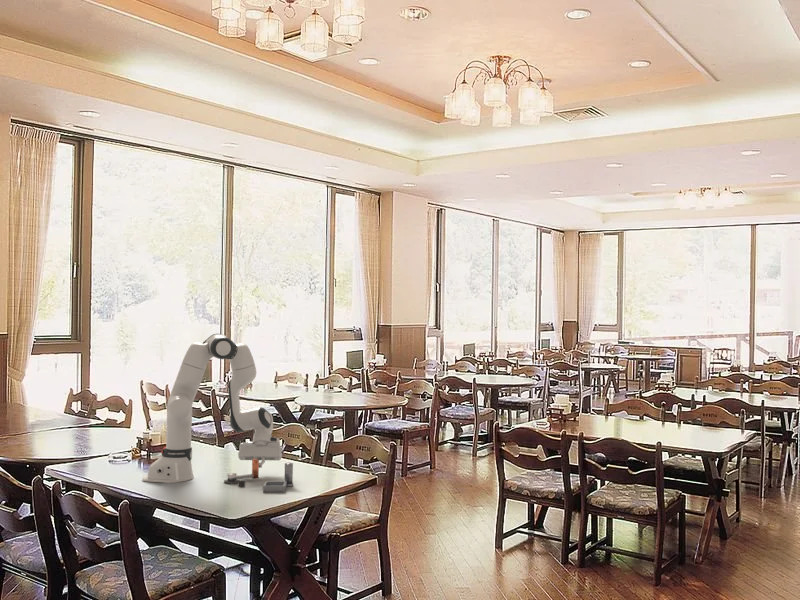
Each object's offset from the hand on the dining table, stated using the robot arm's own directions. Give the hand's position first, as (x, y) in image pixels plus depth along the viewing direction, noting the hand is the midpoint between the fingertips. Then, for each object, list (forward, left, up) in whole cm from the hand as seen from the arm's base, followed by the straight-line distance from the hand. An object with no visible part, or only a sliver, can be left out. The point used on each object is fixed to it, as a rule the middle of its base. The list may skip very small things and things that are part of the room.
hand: (258, 466), depth 356 cm
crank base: (-10, -11, -5) cm, 16 cm away
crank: (-6, -8, -4) cm, 11 cm away
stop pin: (+16, -16, -5) cm, 23 cm away
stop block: (-5, -18, -5) cm, 19 cm away
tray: (+11, -24, -5) cm, 27 cm away
